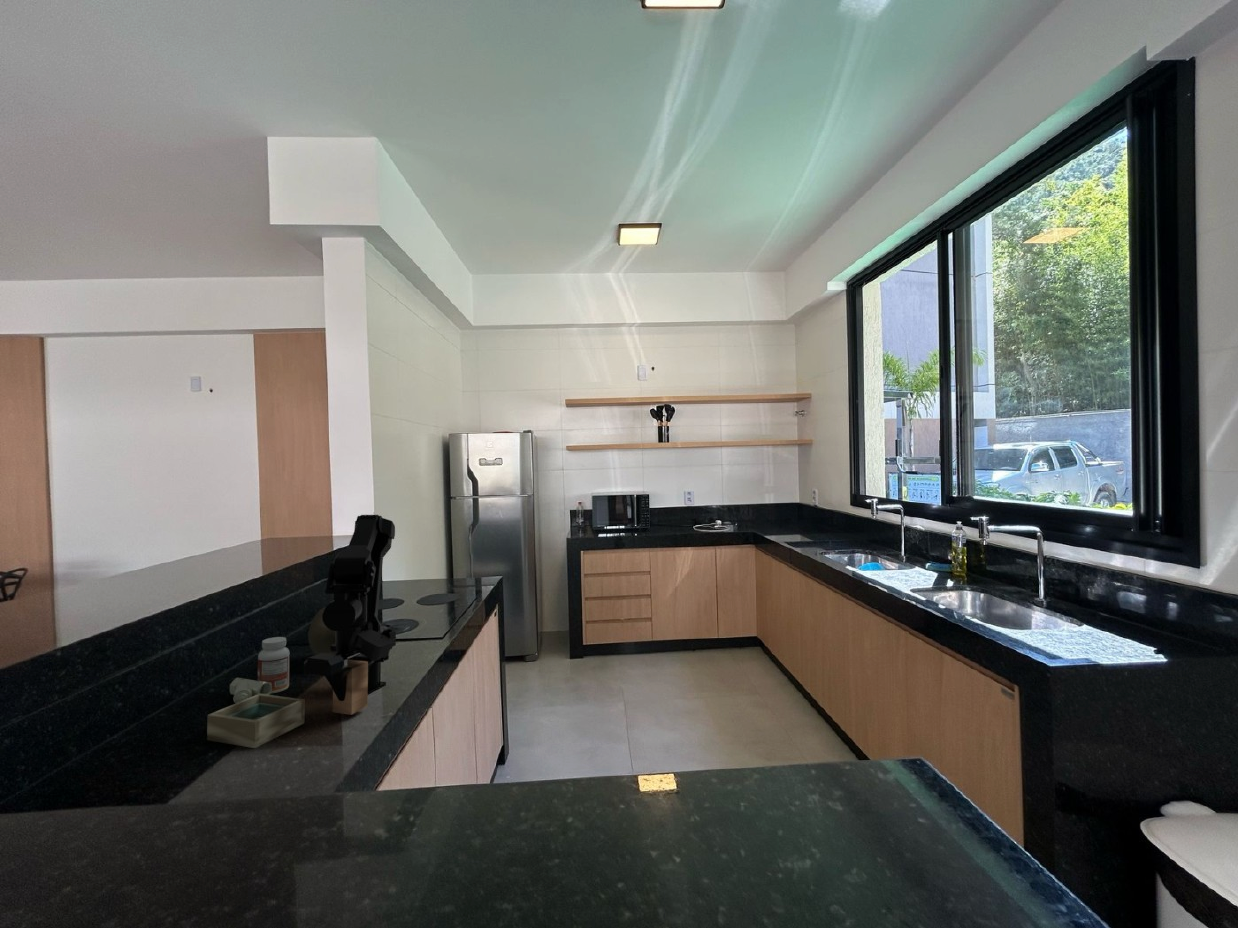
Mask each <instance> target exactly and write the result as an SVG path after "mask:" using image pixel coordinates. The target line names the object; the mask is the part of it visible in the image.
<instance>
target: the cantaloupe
mask: <svg viewBox="0 0 1238 928" xmlns="http://www.w3.org/2000/svg"><path fill="white" fill-rule="evenodd" d="M325 608H326V606H325V607H323V608H321V609H319V610H318V612H316V613H315V614H314V617H313V618H312V620H311V623H310V626H309V628H308V633H307V634H308V638H307V639H308V643H309V644H308V645H309V646H310V649H311V651H312V653H313V656H314V655H317V654H320V653H329V654H336V651H330V648H331V645H334V644H335V640H336V631H333V630H330V629H329V628H327V627H326V626H325V624H324V622H323V619H322V614H323V612H324V609H325Z"/></svg>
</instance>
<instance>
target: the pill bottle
mask: <svg viewBox="0 0 1238 928" xmlns="http://www.w3.org/2000/svg"><path fill="white" fill-rule="evenodd" d="M286 645H287V638H286V637H283V636H275V637H274V636H273V637H268V638H266V639H263V640H262V642H261V648H262V650H261V651H260V652H259V653H258V656H257V681H264V682H270V683H271V684H272V692H271V693H270V695H273V694H276V693H280V692H283V691H286V690H288V688H289V687H290V661H291V660H290V658H291V654H290V650H289V648H288V647H286Z"/></svg>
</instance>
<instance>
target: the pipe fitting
mask: <svg viewBox="0 0 1238 928" xmlns="http://www.w3.org/2000/svg"><path fill="white" fill-rule="evenodd" d="M271 692H272V684H271V683H270V682H264V681H258V680H254V679H248V678H243V677H236V678H234V680H232V682H231V683H230V684H229V693H230V695H233V697H232V700H233V702H234V704H236V703H238V702H240V701H243V700H245V699H248V698H250V697H253V696H255V695H257V694H267V695H271V694H270V693H271Z"/></svg>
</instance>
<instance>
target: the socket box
mask: <svg viewBox="0 0 1238 928" xmlns="http://www.w3.org/2000/svg"><path fill="white" fill-rule="evenodd" d="M305 701H306V699H303V698H295V697H289V696H279V695H273V694H270V695H267V694H257V695H255V696H253V697H250V698H248V699H245V700H243V701H240V702H238V703H233V704H231V705H229V706H226V707H224V708H221V709H219V710H216V711H214V712H212V713H209V714H207V724H206V725H207V730H206V734H207V735H206V740H207V741H211V742H216V743H222V744H228V745H234V746H240V747H246V748H252V749H256V748H258V747H260V746H262V745H264V744H267V743H269V742H270V741H272V740H274V739H277V738H278V737H279V736H282V735H284V734H286V733H287V732H290V731H292V730H294V729H295V728H298V727H300V726H301V725H304V724H305V705H306V704H305V703H306V702H305Z"/></svg>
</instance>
